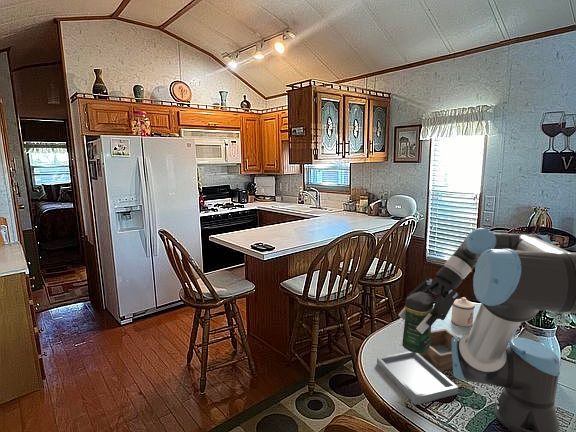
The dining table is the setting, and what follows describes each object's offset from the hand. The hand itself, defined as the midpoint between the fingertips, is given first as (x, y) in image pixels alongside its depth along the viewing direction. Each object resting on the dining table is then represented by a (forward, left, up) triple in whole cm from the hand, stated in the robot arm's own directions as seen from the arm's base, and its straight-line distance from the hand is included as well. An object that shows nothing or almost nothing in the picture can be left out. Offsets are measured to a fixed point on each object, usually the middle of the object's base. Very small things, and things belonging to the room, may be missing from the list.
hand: (409, 324), depth 116 cm
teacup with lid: (+28, -49, -20) cm, 60 cm away
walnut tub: (+8, -21, -20) cm, 30 cm away
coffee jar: (0, -3, -9) cm, 10 cm away
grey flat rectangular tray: (0, -3, -20) cm, 20 cm away
